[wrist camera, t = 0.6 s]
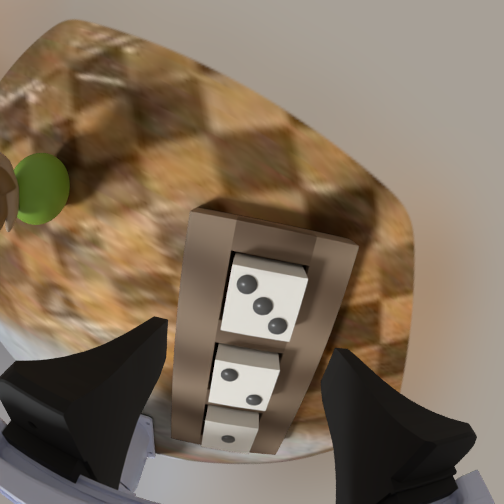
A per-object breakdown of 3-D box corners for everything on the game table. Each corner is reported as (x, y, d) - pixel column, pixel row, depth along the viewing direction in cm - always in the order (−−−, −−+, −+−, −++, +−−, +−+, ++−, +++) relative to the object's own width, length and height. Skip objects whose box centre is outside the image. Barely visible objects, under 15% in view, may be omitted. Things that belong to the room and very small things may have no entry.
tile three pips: (286, 322, 20) (289, 342, 17) (224, 311, 20) (220, 330, 17) (302, 265, 19) (308, 279, 16) (235, 252, 19) (232, 264, 16)
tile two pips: (264, 390, 22) (265, 411, 19) (212, 381, 22) (208, 402, 19) (277, 350, 21) (279, 371, 18) (219, 339, 20) (215, 360, 18)
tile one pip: (249, 435, 24) (248, 454, 21) (204, 428, 24) (201, 447, 21) (258, 408, 23) (258, 429, 20) (209, 400, 22) (205, 421, 20)
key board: (274, 441, 26) (275, 454, 24) (175, 424, 25) (171, 437, 23) (349, 239, 19) (359, 246, 17) (196, 207, 19) (189, 211, 17)
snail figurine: (83, 137, 18) (-39, 128, 6) (84, 216, 19) (-33, 262, 8) (38, 146, 18) (-70, 151, 6) (40, 218, 19) (-64, 256, 8)
